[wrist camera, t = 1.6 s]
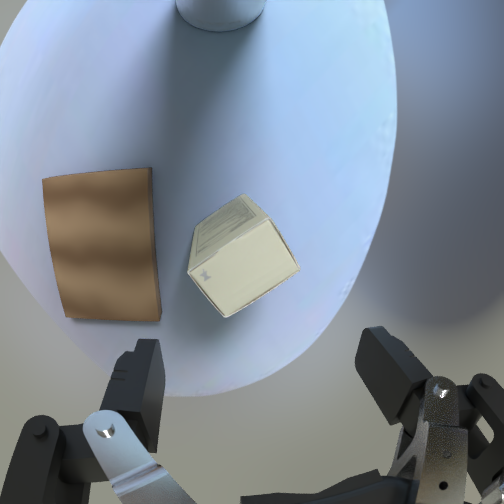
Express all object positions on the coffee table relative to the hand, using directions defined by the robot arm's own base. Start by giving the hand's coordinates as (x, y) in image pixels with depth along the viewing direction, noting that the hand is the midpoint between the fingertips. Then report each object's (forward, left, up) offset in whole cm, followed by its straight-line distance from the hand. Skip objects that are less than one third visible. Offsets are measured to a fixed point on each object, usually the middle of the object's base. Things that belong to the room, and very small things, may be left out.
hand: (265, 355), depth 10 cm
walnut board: (+2, -14, -20) cm, 25 cm away
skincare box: (0, 0, -20) cm, 20 cm away
